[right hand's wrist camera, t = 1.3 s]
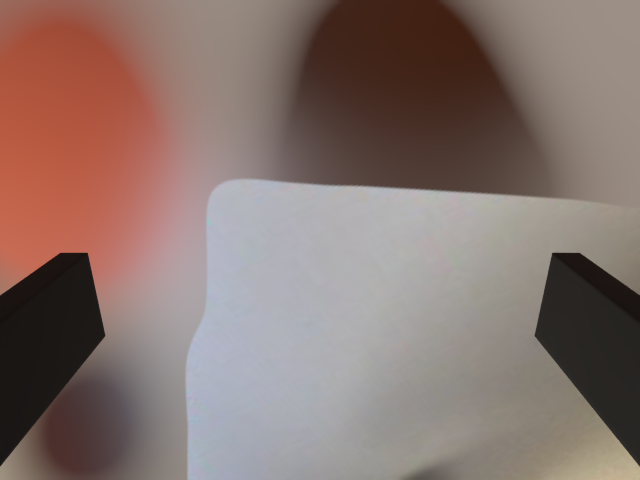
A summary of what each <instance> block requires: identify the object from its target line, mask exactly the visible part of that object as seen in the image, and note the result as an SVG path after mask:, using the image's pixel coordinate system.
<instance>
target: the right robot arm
mask: <svg viewBox="0 0 640 480" xmlns="http://www.w3.org/2000/svg"><path fill="white" fill-rule="evenodd" d="M104 337H105V332H104V327H103V323H102V318H101V313H100V309H99V304H98V299H97V295H96V290H95V285H94V280H93V276H92V271H91V267H90V262H89V257H88V253H60V254H58V255H57V256H55V257H54V258H53V259H51V260H50V261H48V262H47V263H46V264H44V265H43V266H41V267H40V268H38V269H37V270H36V271H34V272H33V273H31V274H30V275H29V276H27V277H26V278H24V279H23V280H22V281H20V282H19V283H17V284H16V285H14V286H13V287H12V288H10V289H9V290H7V291H6V292H5V293H3V294H2V295H0V466H1V465H2V464H3V462H4V461H5V460H6V459H7V457H8V456H9V455H10V454H11V452H12V451H13V450H14V449H15V447H16V446H17V445H18V444H19V442H20V441H21V440H22V439H23V437H24V436H25V435H26V434H27V432H28V431H29V430H30V429H31V427H32V426H33V425H34V424H35V423H36V421H37V420H38V419H39V418H40V416H41V415H42V414H43V413H44V411H45V410H46V409H47V408H48V406H49V405H50V404H51V403H52V401H53V400H54V399H55V398H56V396H57V395H58V394H59V393H60V392H61V390H62V389H63V388H64V386H65V385H66V384H67V383H68V382H69V380H70V379H71V378H72V377H73V375H74V374H75V373H76V372H77V370H78V369H79V368H80V367H81V365H82V364H83V363H84V362H85V360H86V359H87V358H88V357H89V355H90V354H91V353H92V352H93V351H94V349H95V348H96V347H97V346H98V344H99V343H100V342H101V341H102V339H103V338H104ZM535 337H536V338H537V339H538V341H539V342H540V343H541V344H542V346H543V347H544V348H545V349H546V351H547V352H548V353H549V354H550V355H551V357H552V358H553V359H554V360H555V362H556V363H557V364H558V365H559V367H560V368H561V369H562V370H563V372H564V373H565V374H566V375H567V377H568V378H569V379H570V380H571V382H572V383H573V384H574V385H575V387H576V388H577V389H578V390H579V392H580V393H581V394H582V395H583V396H584V398H585V399H586V400H587V401H588V403H589V404H590V405H591V406H592V408H593V409H594V410H595V411H596V413H597V414H598V415H599V416H600V418H601V419H602V420H603V421H604V423H605V424H606V425H607V426H608V428H609V429H610V430H611V431H612V433H613V434H614V435H615V436H616V437H617V439H618V440H619V441H620V442H621V444H622V445H623V446H624V447H625V449H626V450H627V451H628V452H629V454H630V455H631V456H632V457H633V459H634V460H635V461H636V462H637V464H638V465H639V466H640V295H638V294H637V293H635V292H634V291H633V290H631V289H630V288H628V287H627V286H626V285H624V284H623V283H621V282H620V281H618V280H617V279H616V278H614V277H613V276H611V275H610V274H609V273H607V272H606V271H604V270H603V269H602V268H600V267H599V266H597V265H596V264H594V263H593V262H592V261H590V260H589V259H587V258H586V257H585V256H583V255H582V254H580V253H552V257H551V262H550V266H549V271H548V276H547V280H546V285H545V290H544V294H543V299H542V304H541V309H540V313H539V318H538V323H537V327H536V332H535Z"/></svg>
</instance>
